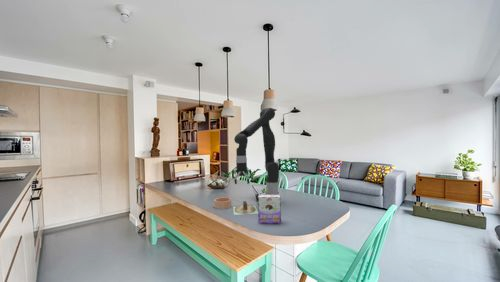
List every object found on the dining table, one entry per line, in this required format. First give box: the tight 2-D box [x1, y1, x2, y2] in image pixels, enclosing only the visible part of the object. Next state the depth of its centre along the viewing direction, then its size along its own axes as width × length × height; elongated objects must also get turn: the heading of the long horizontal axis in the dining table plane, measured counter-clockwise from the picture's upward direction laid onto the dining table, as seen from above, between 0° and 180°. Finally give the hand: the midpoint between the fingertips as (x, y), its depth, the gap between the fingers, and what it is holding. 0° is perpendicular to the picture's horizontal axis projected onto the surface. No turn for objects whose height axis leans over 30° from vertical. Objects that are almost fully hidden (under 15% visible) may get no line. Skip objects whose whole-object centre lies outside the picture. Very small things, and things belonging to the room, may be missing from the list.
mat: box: [232, 205, 258, 216], centre depth 154 cm, size 17×17×1 cm
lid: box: [235, 200, 257, 215], centre depth 154 cm, size 15×15×6 cm
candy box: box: [257, 194, 282, 225], centre depth 133 cm, size 14×6×16 cm, turn 84°
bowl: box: [213, 196, 232, 210], centre depth 163 cm, size 13×13×6 cm
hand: (242, 184), depth 155 cm, fingers open, 8 cm apart
